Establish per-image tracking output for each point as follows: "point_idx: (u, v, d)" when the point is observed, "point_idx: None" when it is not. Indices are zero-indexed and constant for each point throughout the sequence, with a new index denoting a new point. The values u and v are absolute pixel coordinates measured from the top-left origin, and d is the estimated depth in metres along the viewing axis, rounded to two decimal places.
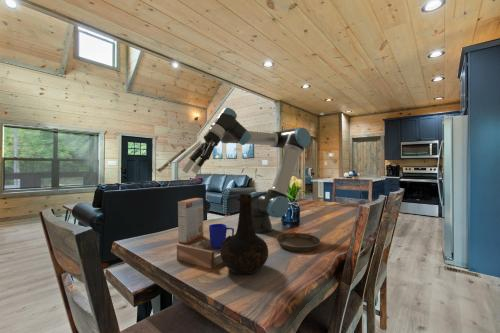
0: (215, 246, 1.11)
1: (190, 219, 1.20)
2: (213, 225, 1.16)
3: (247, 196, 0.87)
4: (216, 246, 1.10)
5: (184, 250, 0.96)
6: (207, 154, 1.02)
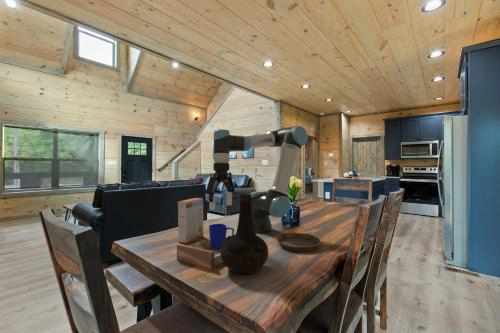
0: (215, 246, 1.11)
1: (190, 219, 1.20)
2: (213, 225, 1.16)
3: (247, 196, 0.87)
4: (216, 246, 1.10)
5: (184, 250, 0.96)
6: (208, 189, 1.05)
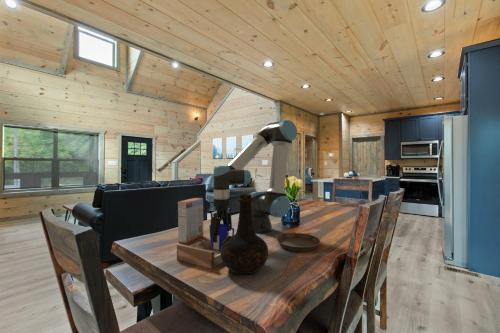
0: None
1: (190, 219, 1.20)
2: None
3: (247, 196, 0.87)
4: None
5: (184, 250, 0.96)
6: (211, 230, 1.07)
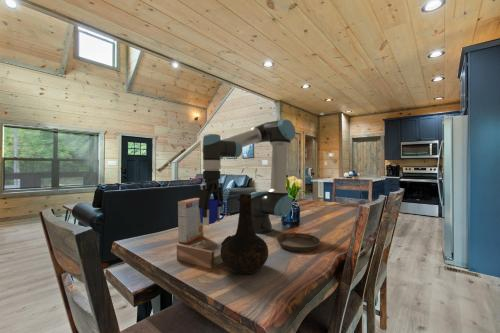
0: None
1: (190, 219, 1.20)
2: None
3: (247, 196, 0.87)
4: None
5: (184, 250, 0.96)
6: (200, 204, 0.98)
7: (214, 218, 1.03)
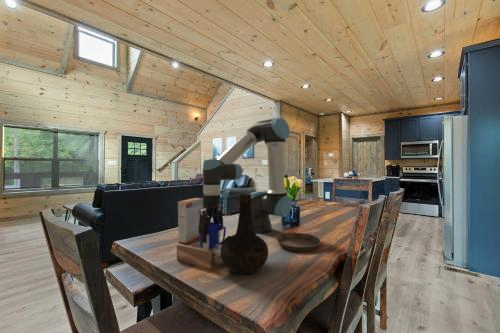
0: None
1: (190, 219, 1.20)
2: None
3: (247, 196, 0.87)
4: None
5: (184, 250, 0.96)
6: (200, 230, 0.98)
7: (214, 242, 1.03)
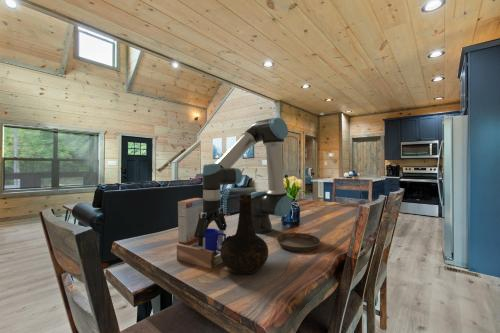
0: None
1: (190, 219, 1.20)
2: None
3: (247, 196, 0.87)
4: None
5: (184, 250, 0.96)
6: (196, 233, 0.96)
7: (214, 249, 1.03)
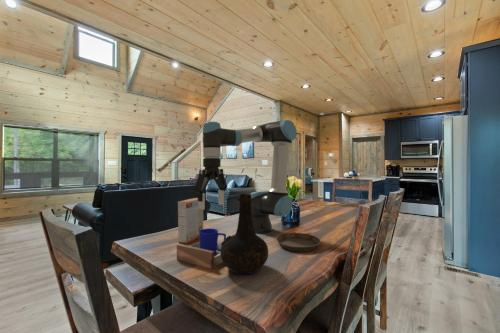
0: None
1: (190, 219, 1.20)
2: (204, 230, 1.07)
3: (247, 196, 0.87)
4: None
5: (184, 250, 0.96)
6: (196, 187, 0.96)
7: (214, 249, 1.03)
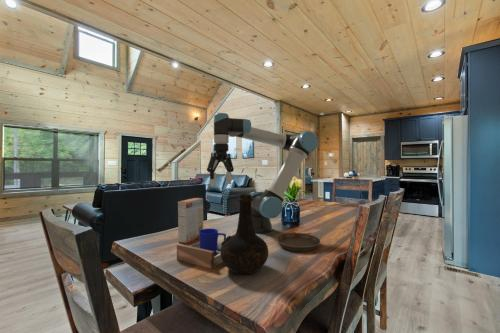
0: None
1: (190, 219, 1.20)
2: (204, 230, 1.07)
3: (247, 196, 0.87)
4: None
5: (184, 250, 0.96)
6: (209, 167, 1.15)
7: (214, 249, 1.03)
